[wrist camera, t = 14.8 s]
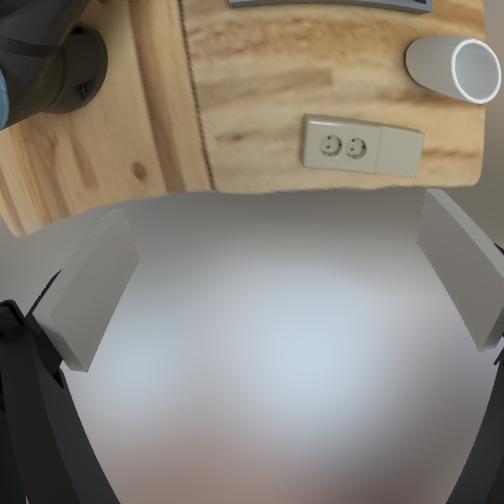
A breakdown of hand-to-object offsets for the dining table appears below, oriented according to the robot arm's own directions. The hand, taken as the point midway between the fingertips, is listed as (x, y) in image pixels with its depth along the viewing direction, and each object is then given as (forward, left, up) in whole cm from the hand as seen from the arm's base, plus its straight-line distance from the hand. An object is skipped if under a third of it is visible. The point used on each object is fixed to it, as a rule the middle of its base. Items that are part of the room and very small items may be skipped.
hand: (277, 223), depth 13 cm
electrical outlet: (+14, -6, -35) cm, 38 cm away
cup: (+24, +7, -35) cm, 43 cm away
